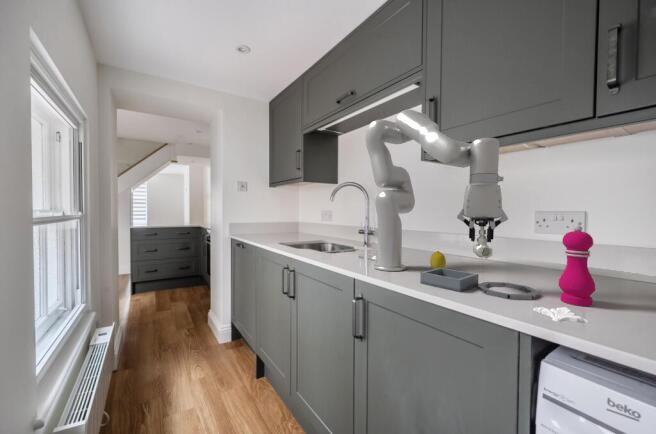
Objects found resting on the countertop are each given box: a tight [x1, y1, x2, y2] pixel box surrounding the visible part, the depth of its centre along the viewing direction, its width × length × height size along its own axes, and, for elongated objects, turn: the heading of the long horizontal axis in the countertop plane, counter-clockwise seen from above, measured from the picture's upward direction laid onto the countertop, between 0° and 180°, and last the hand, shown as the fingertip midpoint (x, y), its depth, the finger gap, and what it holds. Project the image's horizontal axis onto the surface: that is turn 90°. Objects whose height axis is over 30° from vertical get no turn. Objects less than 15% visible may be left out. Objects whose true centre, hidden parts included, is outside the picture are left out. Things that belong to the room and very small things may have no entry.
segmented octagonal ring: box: [476, 281, 541, 301], centre depth 85 cm, size 15×15×1 cm
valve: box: [471, 218, 495, 260], centre depth 87 cm, size 7×7×12 cm
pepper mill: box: [558, 224, 596, 307], centre depth 75 cm, size 7×7×20 cm
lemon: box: [429, 250, 447, 270], centre depth 111 cm, size 6×6×8 cm
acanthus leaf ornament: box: [532, 306, 590, 324], centre depth 65 cm, size 8×7×2 cm
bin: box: [419, 267, 479, 293], centre depth 93 cm, size 13×12×4 cm
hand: (480, 240), depth 88 cm, fingers closed on valve, 3 cm apart
